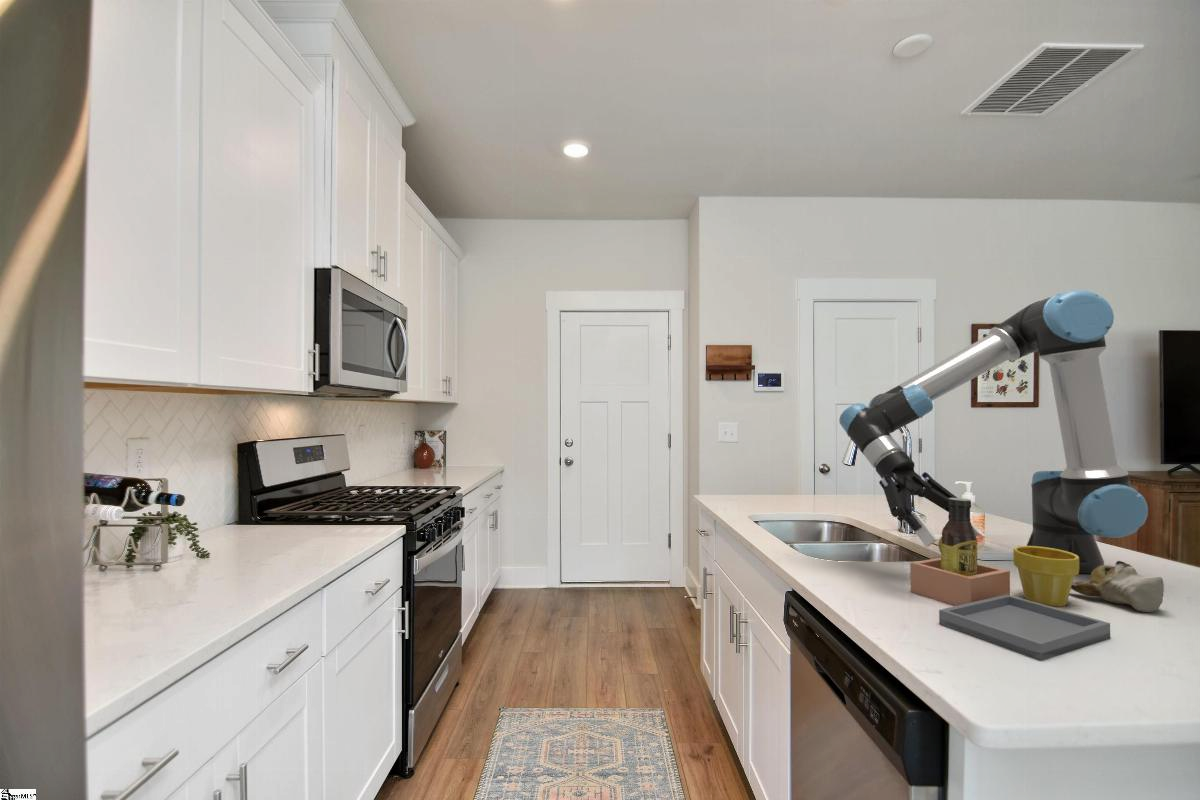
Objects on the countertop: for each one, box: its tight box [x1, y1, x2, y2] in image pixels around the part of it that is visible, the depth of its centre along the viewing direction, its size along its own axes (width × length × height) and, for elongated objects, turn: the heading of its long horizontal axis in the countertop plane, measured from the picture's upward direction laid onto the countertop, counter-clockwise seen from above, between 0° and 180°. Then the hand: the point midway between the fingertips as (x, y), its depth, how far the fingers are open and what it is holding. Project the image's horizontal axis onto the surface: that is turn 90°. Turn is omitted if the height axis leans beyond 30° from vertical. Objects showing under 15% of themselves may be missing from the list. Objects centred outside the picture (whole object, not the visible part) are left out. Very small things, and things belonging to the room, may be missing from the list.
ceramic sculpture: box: [1071, 560, 1165, 614], centre depth 111 cm, size 11×9×15 cm
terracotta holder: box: [910, 557, 1011, 606], centre depth 115 cm, size 12×12×6 cm
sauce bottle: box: [940, 497, 978, 576], centre depth 115 cm, size 6×6×20 cm
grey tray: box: [938, 594, 1111, 661], centre depth 97 cm, size 20×16×2 cm
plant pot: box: [1012, 545, 1080, 607], centre depth 112 cm, size 10×10×10 cm
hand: (954, 540), depth 115 cm, fingers open, 13 cm apart
